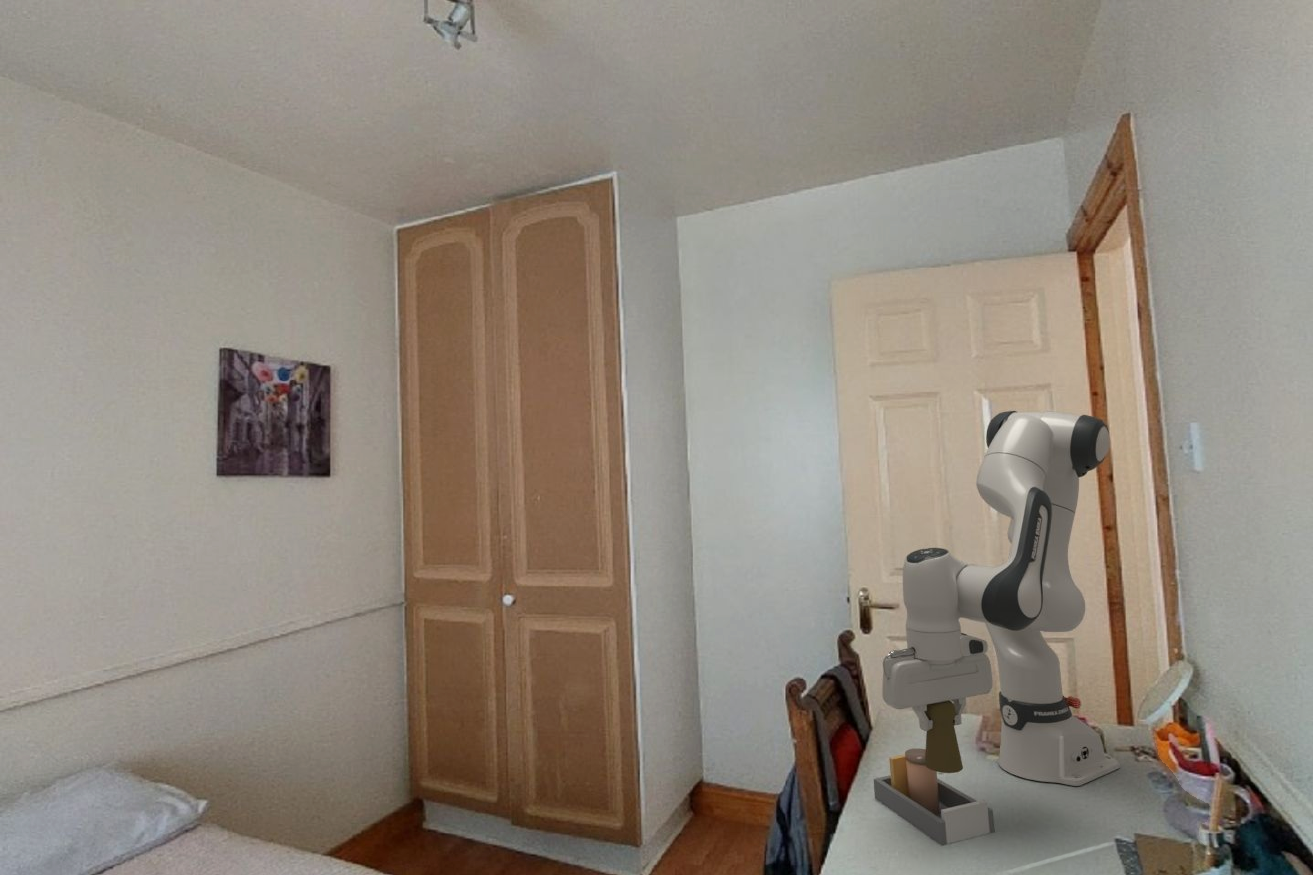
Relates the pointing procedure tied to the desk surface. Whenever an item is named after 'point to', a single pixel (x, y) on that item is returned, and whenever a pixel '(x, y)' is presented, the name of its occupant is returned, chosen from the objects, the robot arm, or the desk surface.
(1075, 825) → the desk surface
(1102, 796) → the desk surface
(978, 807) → the gray open box
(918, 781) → the terracotta jar
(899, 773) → the block
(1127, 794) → the desk surface
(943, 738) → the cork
